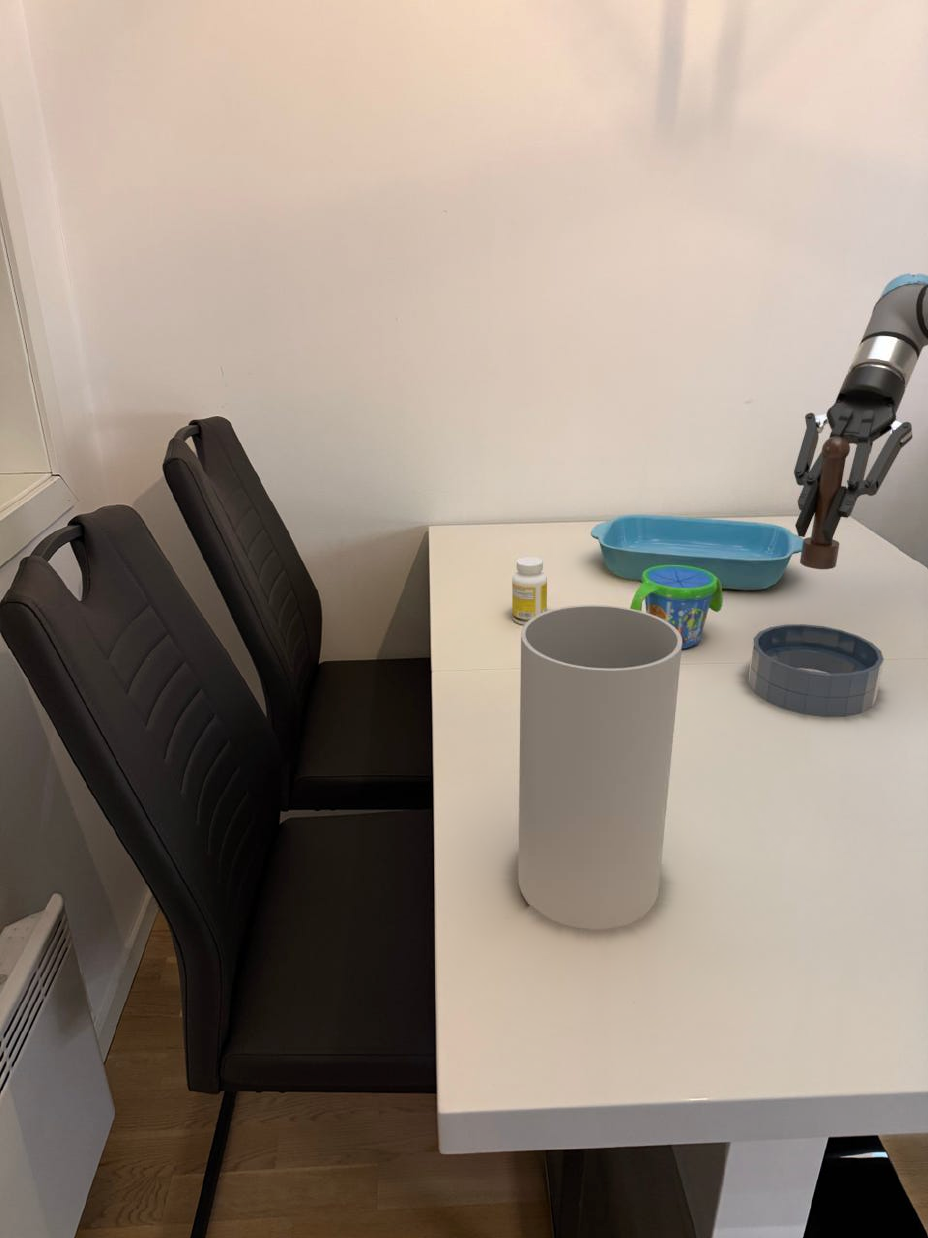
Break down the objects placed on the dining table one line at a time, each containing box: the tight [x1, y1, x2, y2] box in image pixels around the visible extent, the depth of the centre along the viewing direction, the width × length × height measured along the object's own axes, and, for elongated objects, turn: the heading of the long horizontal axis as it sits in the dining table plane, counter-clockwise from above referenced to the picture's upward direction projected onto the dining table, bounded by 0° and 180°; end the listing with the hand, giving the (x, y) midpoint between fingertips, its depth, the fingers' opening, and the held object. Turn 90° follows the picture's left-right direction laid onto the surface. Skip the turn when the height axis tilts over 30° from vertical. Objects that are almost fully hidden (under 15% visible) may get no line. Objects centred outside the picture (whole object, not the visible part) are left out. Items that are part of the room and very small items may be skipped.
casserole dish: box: [590, 514, 805, 591], centre depth 150 cm, size 37×22×7 cm, turn 71°
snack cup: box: [629, 565, 724, 649], centre depth 122 cm, size 16×10×10 cm
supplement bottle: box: [511, 556, 548, 626], centre depth 130 cm, size 5×5×10 cm
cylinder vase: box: [517, 604, 683, 931], centre depth 71 cm, size 12×12×25 cm
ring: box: [748, 623, 885, 718], centre depth 107 cm, size 15×15×6 cm
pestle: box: [799, 436, 851, 570], centre depth 107 cm, size 4×4×17 cm
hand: (813, 533), depth 105 cm, fingers closed on pestle, 3 cm apart
